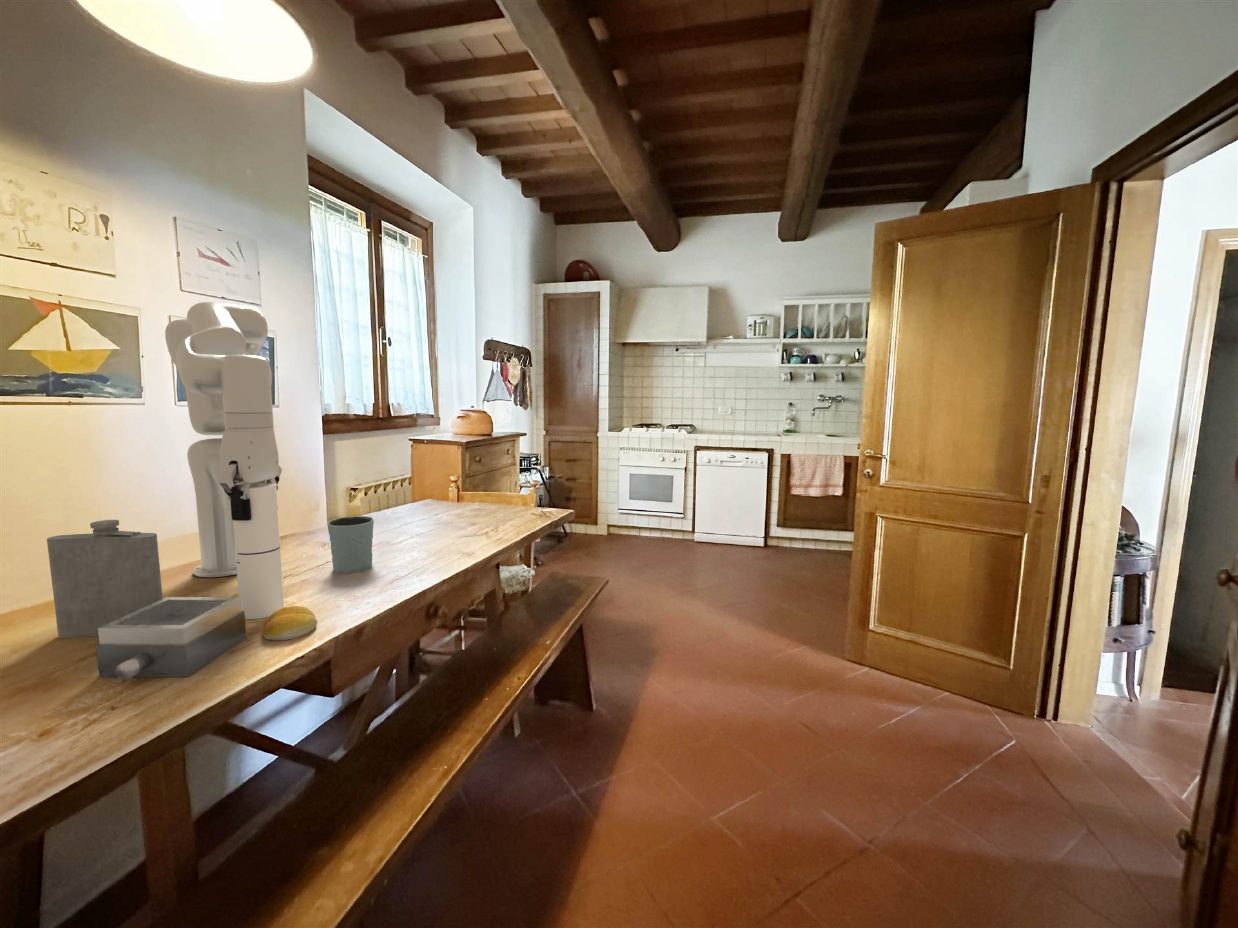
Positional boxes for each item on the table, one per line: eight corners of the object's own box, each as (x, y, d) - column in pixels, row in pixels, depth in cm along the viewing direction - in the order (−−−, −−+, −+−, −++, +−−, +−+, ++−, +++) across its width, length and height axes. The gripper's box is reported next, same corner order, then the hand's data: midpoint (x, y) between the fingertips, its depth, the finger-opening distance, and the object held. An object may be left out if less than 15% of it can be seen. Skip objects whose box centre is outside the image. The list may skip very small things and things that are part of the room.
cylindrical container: (262, 620, 99) (253, 489, 96) (230, 617, 101) (220, 487, 98) (292, 606, 106) (285, 483, 103) (262, 603, 108) (254, 481, 105)
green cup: (368, 559, 138) (366, 514, 136) (381, 568, 130) (379, 521, 129) (324, 567, 131) (322, 519, 129) (336, 577, 123) (333, 527, 122)
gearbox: (169, 637, 92) (166, 596, 91) (246, 638, 92) (243, 596, 91) (79, 687, 76) (73, 638, 75) (172, 687, 76) (167, 638, 75)
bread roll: (262, 646, 90) (261, 624, 89) (264, 626, 97) (263, 606, 97) (318, 635, 94) (317, 614, 94) (316, 617, 102) (315, 597, 101)
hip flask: (53, 639, 91) (39, 525, 88) (73, 628, 95) (60, 519, 92) (157, 634, 93) (147, 523, 91) (172, 624, 97) (163, 517, 95)
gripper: (259, 420, 107) (264, 506, 110) (193, 424, 90) (201, 526, 92) (296, 420, 108) (301, 506, 110) (238, 425, 90) (245, 526, 93)
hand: (255, 514), depth 101 cm, fingers closed on cylindrical container, 7 cm apart
